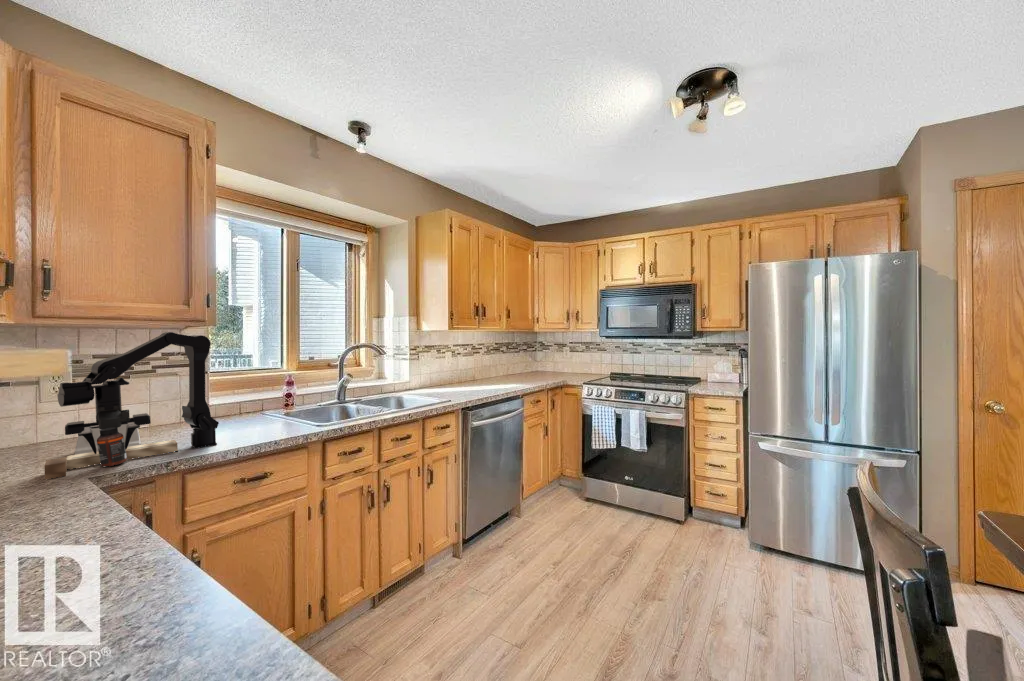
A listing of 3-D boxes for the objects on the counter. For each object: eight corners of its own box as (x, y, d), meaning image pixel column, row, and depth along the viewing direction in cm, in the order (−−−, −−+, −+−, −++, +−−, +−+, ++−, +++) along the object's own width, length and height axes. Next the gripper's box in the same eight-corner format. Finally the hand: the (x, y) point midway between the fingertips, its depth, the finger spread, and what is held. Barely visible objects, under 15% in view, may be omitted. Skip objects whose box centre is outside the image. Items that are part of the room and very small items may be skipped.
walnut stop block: (66, 470, 124) (66, 457, 124) (65, 476, 120) (65, 462, 119) (46, 473, 122) (46, 460, 121) (44, 479, 117) (44, 465, 117)
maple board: (175, 448, 147) (174, 439, 147) (177, 451, 143) (177, 442, 143) (67, 465, 129) (67, 455, 129) (66, 470, 125) (66, 459, 125)
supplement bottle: (132, 459, 133) (127, 424, 132) (115, 466, 127) (109, 430, 126) (113, 461, 132) (107, 426, 131) (95, 468, 126) (89, 432, 125)
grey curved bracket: (73, 456, 138) (74, 426, 141) (75, 458, 142) (76, 429, 144) (140, 447, 149) (140, 419, 151) (141, 449, 152) (141, 422, 155)
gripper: (62, 409, 116) (65, 464, 117) (151, 399, 129) (153, 449, 130) (64, 404, 124) (67, 456, 124) (147, 395, 137) (149, 442, 138)
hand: (111, 451), depth 129 cm, fingers open, 6 cm apart
